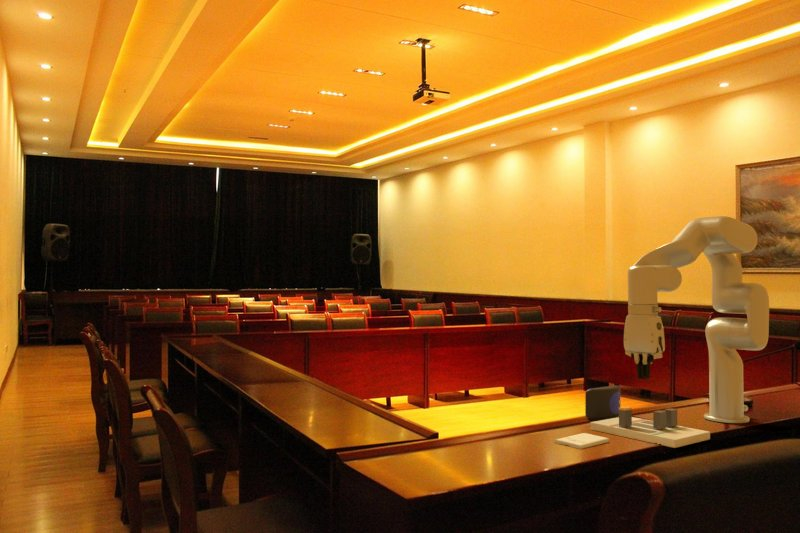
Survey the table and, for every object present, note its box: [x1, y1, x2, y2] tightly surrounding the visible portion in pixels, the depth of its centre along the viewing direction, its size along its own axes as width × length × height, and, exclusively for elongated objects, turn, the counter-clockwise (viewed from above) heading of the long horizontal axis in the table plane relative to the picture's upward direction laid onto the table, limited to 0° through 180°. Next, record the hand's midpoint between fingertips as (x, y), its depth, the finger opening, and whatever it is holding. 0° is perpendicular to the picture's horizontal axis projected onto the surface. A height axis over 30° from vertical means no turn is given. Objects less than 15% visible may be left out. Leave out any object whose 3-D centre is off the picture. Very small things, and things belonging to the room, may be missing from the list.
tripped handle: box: [618, 406, 633, 427], centre depth 180 cm, size 3×2×5 cm, turn 126°
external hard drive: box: [553, 432, 610, 450], centre depth 170 cm, size 2×8×12 cm
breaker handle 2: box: [664, 407, 678, 427], centre depth 181 cm, size 3×2×4 cm, turn 126°
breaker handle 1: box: [652, 409, 666, 429], centre depth 177 cm, size 3×2×4 cm, turn 126°
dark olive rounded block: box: [584, 384, 622, 421], centre depth 203 cm, size 16×5×9 cm, turn 126°
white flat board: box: [589, 416, 711, 449], centre depth 180 cm, size 17×26×2 cm, turn 36°
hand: (643, 378), depth 176 cm, fingers closed
